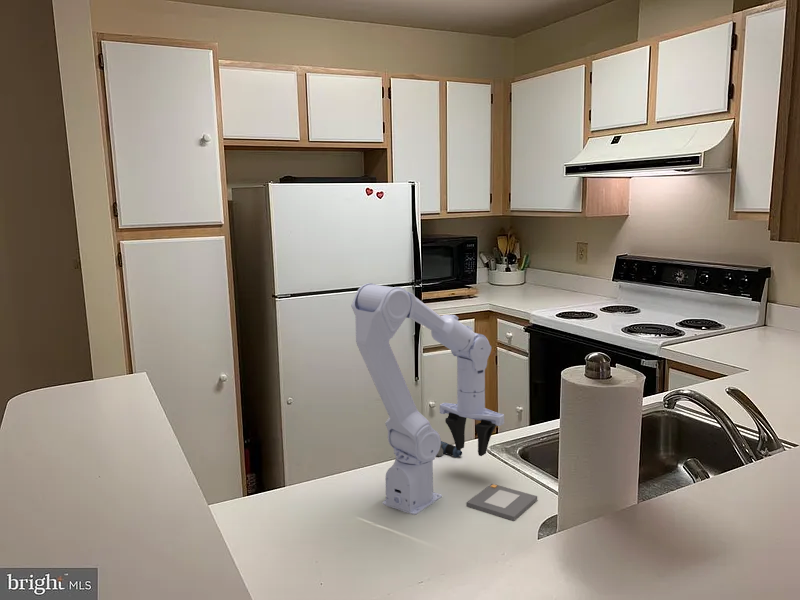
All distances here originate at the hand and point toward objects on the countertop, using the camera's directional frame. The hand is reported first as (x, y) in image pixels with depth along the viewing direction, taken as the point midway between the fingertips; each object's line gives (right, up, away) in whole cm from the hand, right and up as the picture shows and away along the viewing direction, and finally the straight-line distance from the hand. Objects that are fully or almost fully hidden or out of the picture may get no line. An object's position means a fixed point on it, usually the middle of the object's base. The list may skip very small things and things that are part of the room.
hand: (471, 451), depth 131 cm
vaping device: (-11, -2, +18) cm, 21 cm away
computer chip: (+5, -7, -11) cm, 14 cm away
